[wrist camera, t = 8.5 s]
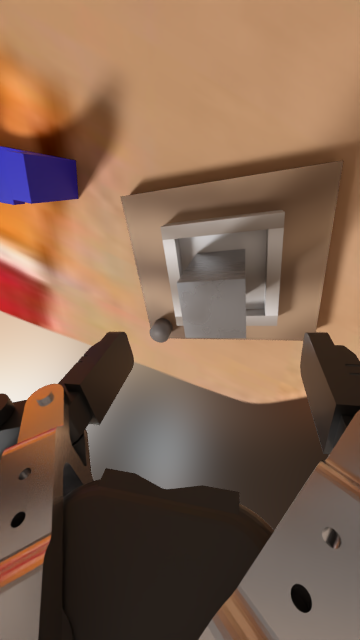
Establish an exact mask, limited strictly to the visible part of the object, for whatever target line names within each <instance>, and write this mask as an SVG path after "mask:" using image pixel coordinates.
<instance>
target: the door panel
mask: <svg viewBox="0 0 360 640" xmlns="http://www.w3.org/2000/svg"><path fill="white" fill-rule="evenodd" d="M342 167H343V160H342V161H336V162H330V163H324V164H318V165H312V166H306V167H299V168H293V169H287V170H281V171H275V172H269V173H263V174H257V175H250V176H244V177H238V178H232V179H226V180H220V181H214V182H208V183H201V184H195V185H189V186H183V187H177V188H171V189H165V190H158V191H152V192H146V193H140V194H134V195H128V196H122V197H121V201H122V205H123V210H124V214H125V218H126V223H127V227H128V231H129V236H130V240H131V244H132V249H133V253H134V257H135V262H136V266H137V270H138V275H139V279H140V284H141V288H142V292H143V297H144V301H145V305H146V310H147V314H148V318H149V323H150V327H151V329H150V336H151V337H152V339H154V340H155V341H157V342H165V341H167V339H168V338H181V339H240V340H299V341H303V340H304V335H305V333H306V332H309V333H316V327H317V321H318V315H319V309H320V303H321V296H322V290H323V284H324V278H325V272H326V266H327V259H328V253H329V247H330V241H331V235H332V228H333V222H334V216H335V210H336V204H337V198H338V191H339V185H340V179H341V173H342ZM236 249H245V266H246V338H185V332H184V326H183V319H182V313H181V307H180V301H179V295H178V289H177V281H178V280H179V278H180V277H181V275H182V274H183V272H184V271H185V270H186V268H187V267H188V265H189V264H190V262H191V261H192V259H193V258H194V256H195V255H196V253H204V252H215V251H225V250H236Z"/></svg>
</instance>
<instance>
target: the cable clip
mask: <svg viewBox="0 0 360 640" xmlns="http://www.w3.org/2000/svg"><path fill="white" fill-rule="evenodd" d="M71 199H78V185H77V170H76V160H71V159H66V158H61V157H56V156H50V155H45V154H40V153H35V152H30V151H24V150H19V149H14V148H9V147H3V146H0V202H2V203H8V204H13V205H17V204H25V202H26V203H31V204H32V203H42V202H51V201H61V200H71Z"/></svg>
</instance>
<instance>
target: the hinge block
mask: <svg viewBox="0 0 360 640" xmlns="http://www.w3.org/2000/svg"><path fill="white" fill-rule="evenodd" d="M177 289H178V295H179V301H180V307H181V313H182V319H183V326H184V332H185V338H246V266H245V249H236V250H225V251H215V252H204V253H196V255H195V256H194V258H193V259H192V261H191V262H190V264H189V265H188V267H187V268H186V270H185V271H184V272H183V274H182V275H181V277H180V278H179V280H178V281H177Z"/></svg>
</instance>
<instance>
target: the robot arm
mask: <svg viewBox="0 0 360 640" xmlns="http://www.w3.org/2000/svg"><path fill="white" fill-rule="evenodd" d="M133 364H134V357H133V354H132V351H131V347H130V344H129V341H128V338H127V335H126V333H125V332H108V333H107V334H106V335H105V336H104V338H103V339H102V340H101V341H100V342H98V343H96V344H95V345H94V346H92V347H91V348H90V349H89V350H88V351H87V352H86V353H85V354H84V356H83V357H81V359H80V360H79V361H78V363H76V364H75V365H74V366H73V368H72V369H71V370H70V371H69V372H68V373H67V374H66V375H65V377H64V378H63V379H62V380H61V381H60V382H59V383H58V384H50V385H47V386H44V387H42V388H40V389H38V390H37V391H35V392H34V393H33V394H32V395H31V396H30V397H29V398H28V399H27V400H24V401H19V402H13V403H12V401H11V400H10V399H9V397H8V396H7V395H6V394H0V640H360V361H359V359H358V358H357V356H356V355H355V354H354V353H353V352H352V351H350V350H349V349H347V348H346V347H345V346H341V345H334V343H333V342H332V340H331V338H330V336H329V334H328V333H309V332H306V333H305V335H304V340H303V348H302V356H301V364H300V368H301V377H302V380H303V384H304V387H305V391H306V394H307V398H308V401H309V405H310V408H311V412H312V415H313V418H314V422H315V426H316V429H317V433H318V436H319V440H320V443H321V447H322V450H323V453H324V454H330V455H329V456H328V458H327V459H326V460H325V461H321V462H320V463H319V464H318V465H317V467H316V468H315V469H314V471H313V473H312V474H311V476H310V477H309V479H308V480H307V482H306V483H305V485H304V486H303V488H302V489H301V491H300V493H299V494H298V495H297V497H296V498H295V500H294V502H293V503H292V505H291V506H290V508H289V509H288V511H287V512H286V514H285V515H284V517H283V518H282V520H281V522H280V523H279V524H278V526H277V528H276V529H275V530H274V529H272V527H271V526H270V525H269V524H268V523H267V522H266V521H265V520H263V519H262V518H261V517H260V516H259V515H257V514H256V513H254V512H253V511H251V510H250V509H248V508H247V507H245V506H243V505H241V504H240V495H239V492H235V491H230V490H224V489H219V488H213V487H208V486H194V487H185V488H177V489H162V488H160V487H158V486H156V485H155V484H153V483H151V482H149V481H148V480H146V479H144V478H142V477H140V476H139V475H137V474H135V473H129V472H123V471H118V470H113V469H107V468H106V469H105V471H104V474H103V476H102V478H101V479H100V480H96V481H94V479H93V476H92V472H91V462H90V452H89V443H88V433H87V431H86V427H87V426H88V424H97V425H100V423H101V421H102V420H103V418H104V416H105V415H106V413H107V411H108V410H109V408H110V406H111V404H112V402H113V401H114V399H115V397H116V395H117V394H118V392H119V391H120V389H121V387H122V385H123V383H124V382H125V380H126V378H127V377H128V375H129V373H130V372H131V370H132V368H133Z"/></svg>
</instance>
